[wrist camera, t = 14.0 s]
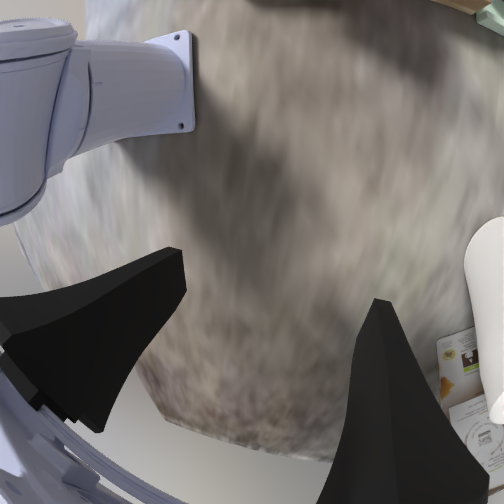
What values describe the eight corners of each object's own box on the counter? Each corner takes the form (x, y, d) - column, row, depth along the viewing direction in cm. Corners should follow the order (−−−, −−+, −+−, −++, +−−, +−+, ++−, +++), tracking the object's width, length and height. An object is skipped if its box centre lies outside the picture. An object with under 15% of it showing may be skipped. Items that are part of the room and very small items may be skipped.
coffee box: (433, 339, 20) (434, 506, 8) (490, 318, 17) (518, 480, 4) (439, 384, 23) (433, 512, 10) (486, 369, 20) (494, 495, 7)
